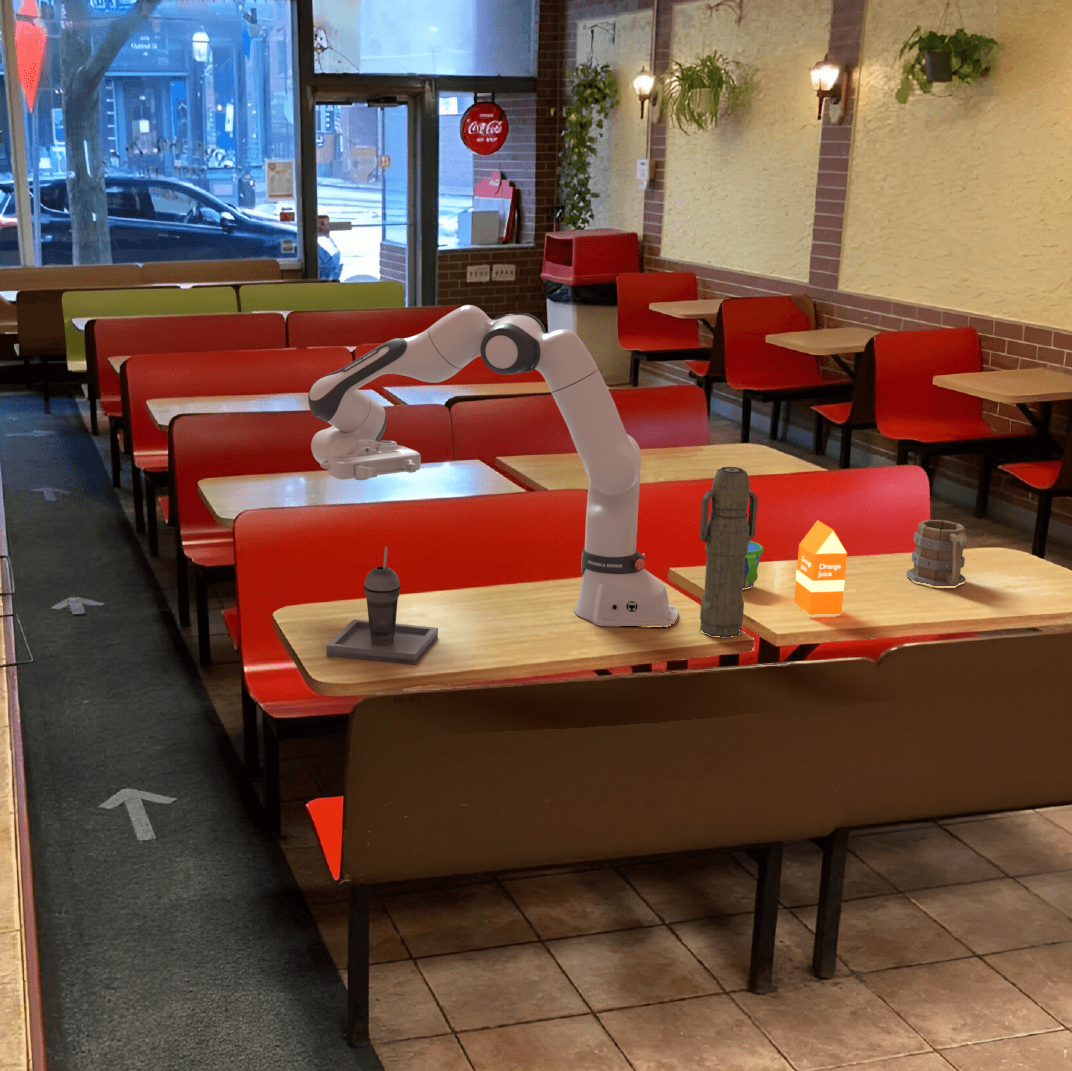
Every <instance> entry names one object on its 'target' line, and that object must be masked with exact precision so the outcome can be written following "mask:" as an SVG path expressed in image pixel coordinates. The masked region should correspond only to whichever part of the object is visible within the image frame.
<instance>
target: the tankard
mask: <svg viewBox="0 0 1072 1071" xmlns="http://www.w3.org/2000/svg"><path fill="white" fill-rule="evenodd" d="M913 543H915V550H913V551H912V554H911V562H913V568H912V569H908V570H907V571H906V577H907V576H908V577H910V578H911V579H912V580H914V581H916V582H920V583H926V584H930V585H932V586H956V585H958V584H959V583H962V582H964V581H965V582H966V580H967V579H966V577H965V576H964V575H963V574H961V572H962V571H961V570H962V568H964V567H965V561H966V558H965V556H963V554H964V552H963V551H964V549H966V548H967V545H968V544H969V541H968V538H967V536H966V527H965V526H964V525H962V524H961V523H958V522H953V521H949V520H946V519H945V520H943V519H925V520H922V521H920V522H918V525H917V531H915V532H914V534H913ZM908 577H907V578H908Z"/></svg>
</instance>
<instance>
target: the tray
mask: <svg viewBox="0 0 1072 1071" xmlns="http://www.w3.org/2000/svg"><path fill="white" fill-rule="evenodd" d="M438 637H439V627H433V626H425V625H423V626H422V625H412V624H404V623H396V626H395V635H394V642H393V643H392V644H390V645H386V646H378V645H374V644H372V643H371V636H370V628H369V620H363V619H353V620H351V621H350V622H349V623H348V624H347V625H346V626H345V627H344V628H342V630H341V631H339V633H337V635H335V636H334V637H333V638H332V639H331V640H330V641H329V642H328V643H327V644H326V648H325V649H326V656H327V657H335V658H345V659H352V660H353V659H355V660H356V659H357V660H365V661H373V662H381V663H382V662H383V663H384V662H385V663H391V662H393V663H394V664H403V665H412V666H416V665H417V664H418V663H419V662H420V660H421V659H422V658H423V656H425V654H426V653H427V652H428V650H429V649H430V648H431V647H432V646H433V645H434V643H435V642H437V640H438ZM393 663H392V664H393Z"/></svg>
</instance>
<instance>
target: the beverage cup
mask: <svg viewBox="0 0 1072 1071" xmlns="http://www.w3.org/2000/svg"><path fill="white" fill-rule="evenodd" d="M387 559H388V546H384V554H383V566H382V565H380V566H376V567H374V568H372V569H371V570H370V571H368V573H367V574H366V577H365V579H364V584H363V589H364V595H365V598H366V607H367V616H368V618H367V619H368V621H369V628H370V636H371V643H372V644H374V645H378V646H386V645H390V644H392V643H393V642H394V635H395V626H396V624H397V622H396V621H397V615H398V614H397V613H398V612H397V611H398V603H399V602H398V600H399V596H400V591H401V583H400V578H399V576H398V574H397V573H396V571H394V570H393V569H392V568H390V567H389V566H387Z"/></svg>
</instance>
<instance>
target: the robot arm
mask: <svg viewBox="0 0 1072 1071" xmlns="http://www.w3.org/2000/svg"><path fill="white" fill-rule="evenodd" d="M478 357H481V360H482V361H483V363H484V364H485V366H486V367H487V368H488V369H489V370H490V371H492V372H494V373H496V374H500V375H516V374H523V373H530V372H534V370H536V371H538V372H539V373H540V374H541V376H542V377H543V379H544V381H545V383H546V385H547V387H548V390H549V391H550V393H551V396H552V398H553V399H554V402H555V404H556V406H557V408H558V410H559V412H560V414H561V416H562V418H563V420H564V422H565V424H566V426H567V428H568V431H569V434H570V437H571V440H572V442H573V445H574V447H575V449H576V453H577V455H578V456H579V459H580V462H581V464H582V466H583V469H584V471H585V473H586V475H587V478H588V487H587V499H586V502H587V503H586V512H585V514H586V515H585V533H584V535H585V536H584V538H585V539H584V548H583V549H582V553H581V561H580V563H581V565H580V566H581V568H580V569H581V574H582V576H581V584H580V590H579V594H578V599H577V602H576V605H575V608H574V613H575V614H576V616H579V617H580V618H582V619H584V620H586V621H587V620H588V621H590V622H592V623H593V624H594V625H596V626H598V627H620V626H662V627H665V626H667V625H668V626H669V625H670V624H673V623H674V622H675V621H676V620H677V621H678V619H679V610H678V609H677V607H676V606H675V605H673V604H670V602H669V596H668V595H669V594H668V590H667V587H666V586H665V584H664V583H663V582H661V581H660V580H659V579H657V578H656V577H655V576H654V575H653V574H652V573H650V572H649V571H647V570H646V568H645V566H646V555H645V553H644V552H643V553H641V552H639V551H638V550H637V536H638V535H637V534H638V519H639V518H638V516H639V515H638V514H639V500H640V498H639V497H640V484H641V483H640V482H641V463H642V453H641V449H640V446H639V443H638V442H637V441H636V439H634V438H633V437H632V436H631V435H629V434H628V433H627V430H626V429H625V426H624V424H623V421H622V419H621V417H620V413H619V411H618V409H617V406H616V403H615V400H614V398H613V396H612V394H611V392H610V390H609V389H608V386H607V384H606V382H605V381H604V380H605V379H604V378H603V376H602V373H601V372H600V370H599V368H598V366H597V364H596V361H595V360H594V358H593V357H592V354H591V352H590V351H589V349H588V348H587V347H586V345H585V343H584V342H583V340H582V339H581V338H580V337H579V335H578V334H577V333H576V332H574V331H573V330H572V329H569V328H568V329H567V328H561V329H560V328H559V329H555V330H552V331H550V332H547V331H546V328H545V326H544V324H543V323H542V322H541V320H540V319H539V318H538V317H536V316H534V315H533V314H529V313H526V312H523V313H522V312H516V313H509V314H503V315H502V314H501V315H497V316H496V317H495V318H494V319H492V318H490V317H489V316H488V314H486V313H485V311H484V310H482V309H481V308H479V307H478V306H476V305H471V304H465V305H462V306H460V307H458V308H455V309H454V310H453V311H451V312H449V313H447V314H446V315H444V316H443V317H441V318H440V319H438V320H437V321H436V322H435V323H433V324H432V325H431V326H429V327H428V328H427V329H425V330H424V331H422V332H420V333H418V334H417V333H416V334H415V335H413V336H409V337H405V338H399V337H397V338H393V339H390V340H388V341H386V342H384V343H382V344H380V345H379V346H376V347H375V348H374V349H372V350H370V351H367V353H365V354H363V355H361V356H360V357H358V358H356V359H355V360H353V361H352V362H350V363H348V364H347V365H345V366H344V367H342V368H340V369H337V370H336V371H333V372H330V373H327V374H326V375H323V376H321V377H319V378H318V379H317V380H315V382H314V383H313V384H312V385H311V386H310V389H309V390H308V396H307V398H308V399H307V401H308V406H309V410H310V412H311V414H312V415H313V416H314V417H316V418H318V419H320V420H322V421H324V422H326V423H328V424H329V425H331V426H330V427H327V428H324V429H321V430H320V431H317V432H316V433H315V434H314V435H313V437H312V439H311V443H310V444H311V445H310V449H311V453H312V455H313V458H314V459H315V460H316V462H318V463H319V464H320V467H321V468H322V469H325V470H327V473H328V475H329V476H331V477H332V478H334V479H336V480H350V479H354V480H356V481H366V480H369V479H372V478H373V479H374V478H377V477H378V476H383V475H384V476H385V475H389V474H390V475H391V474H399V473H405V472H406V473H409V474H413V473H417V471H419V470H420V469H421V466H422V465H421V464H422V462H421V460H422V457H421V453H419V451H417V450H415V449H412V448H410V447H409V448H408V447H406V446H403V445H399V444H398V443H397V441H394V440H381V439H382V437H383V435H384V434H385V431H386V428H387V412H386V409H385V408H384V406H383V405H381V404H380V403H379V402H377V401H376V400H375V399H373V398H372V397H370V396H368V395H366V394H365V393H364V392H363V391H361V390H360V388H362V387H363V386H365V385H367V384H368V383H371V382H372V381H374V380H375V379H377V378H379V377H381V376H383V375H388V374H390V375H400V376H405V377H409V378H413V379H416V380H418V381H421V382H425V383H433V384H435V383H441V382H444V381H447V380H448V379H450V378H452V377H454V376H455V375H457V373H458V372H460V371H461V370H462V369H464V367H466V366H467V365H468V364H470V363H471V362H472V361H473V360H475V359H476V358H478ZM677 618H678V619H677ZM677 621H676V622H677ZM673 625H674V624H673Z"/></svg>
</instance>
